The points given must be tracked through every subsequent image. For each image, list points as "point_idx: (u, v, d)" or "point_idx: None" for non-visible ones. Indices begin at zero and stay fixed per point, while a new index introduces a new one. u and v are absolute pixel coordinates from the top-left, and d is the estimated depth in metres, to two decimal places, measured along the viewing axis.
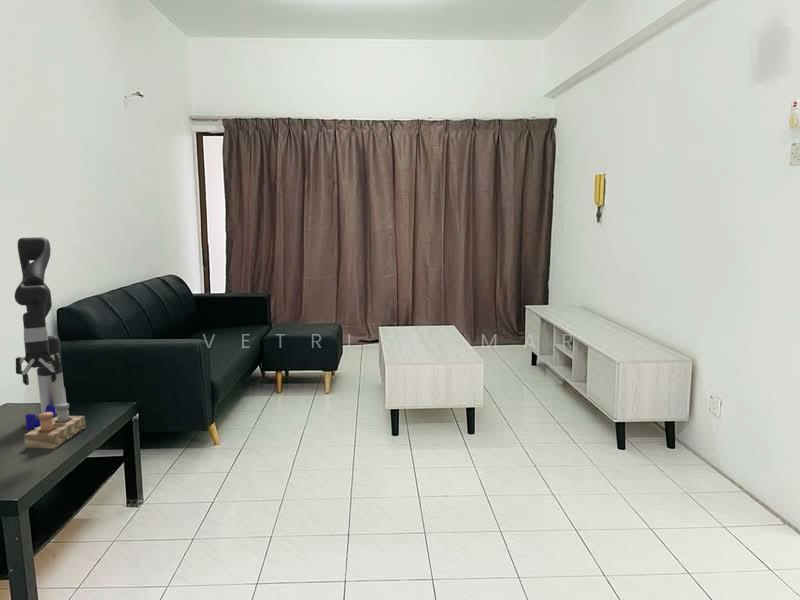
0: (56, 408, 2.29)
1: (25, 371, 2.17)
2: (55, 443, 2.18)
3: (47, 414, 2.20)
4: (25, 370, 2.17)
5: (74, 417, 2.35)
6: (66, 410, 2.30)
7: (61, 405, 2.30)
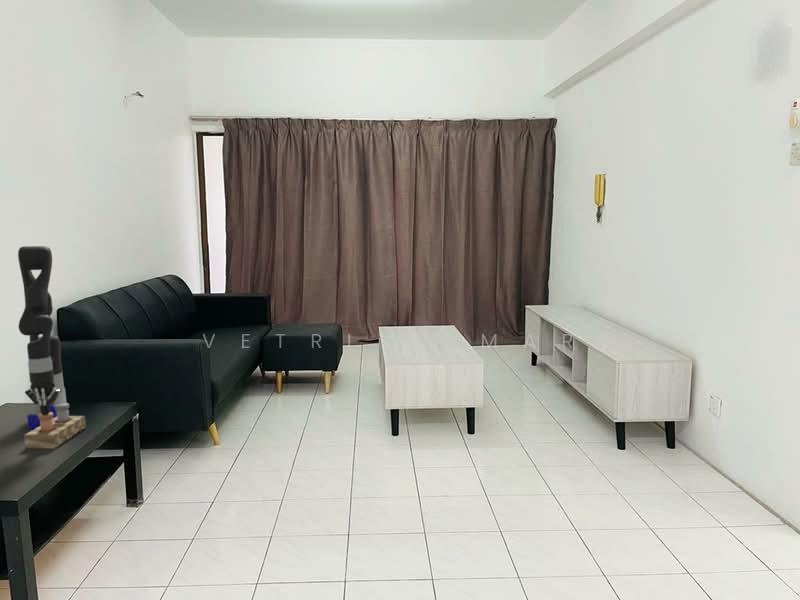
0: (56, 408, 2.29)
1: (41, 402, 2.19)
2: (55, 443, 2.18)
3: (47, 414, 2.20)
4: (41, 401, 2.19)
5: (74, 417, 2.35)
6: (66, 410, 2.30)
7: (61, 405, 2.30)
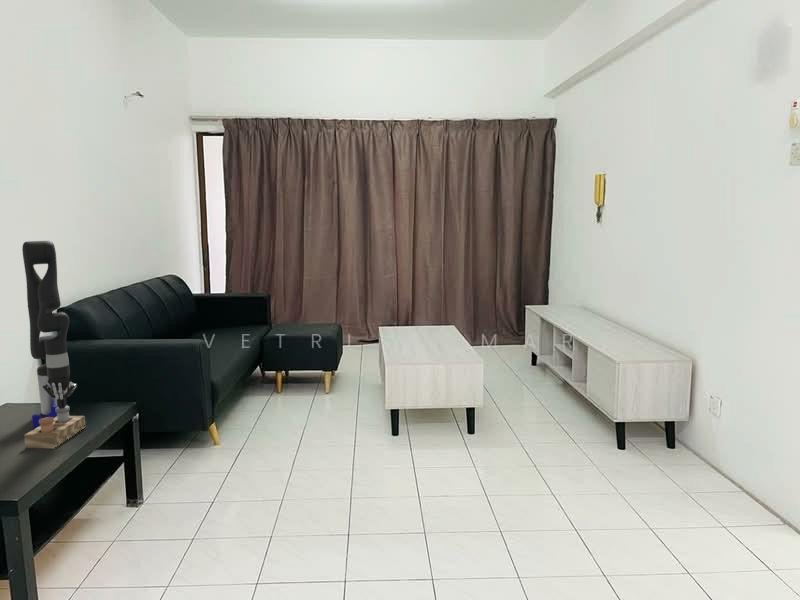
0: (56, 411, 2.29)
1: (58, 396, 2.29)
2: (55, 443, 2.18)
3: (48, 419, 2.21)
4: (58, 395, 2.29)
5: (74, 417, 2.35)
6: (66, 413, 2.31)
7: (61, 408, 2.31)
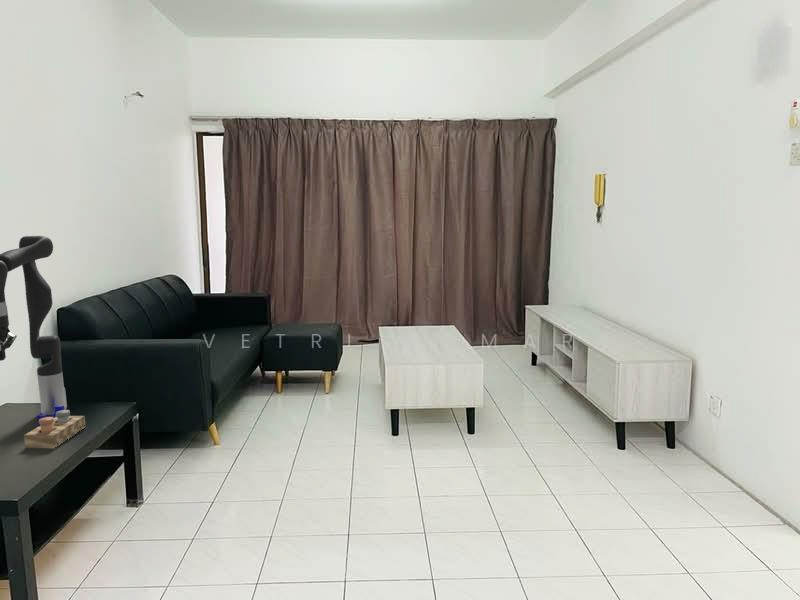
0: (57, 415, 2.29)
1: None
2: (55, 443, 2.18)
3: (48, 419, 2.21)
4: None
5: (74, 417, 2.35)
6: (67, 417, 2.31)
7: (62, 412, 2.31)
